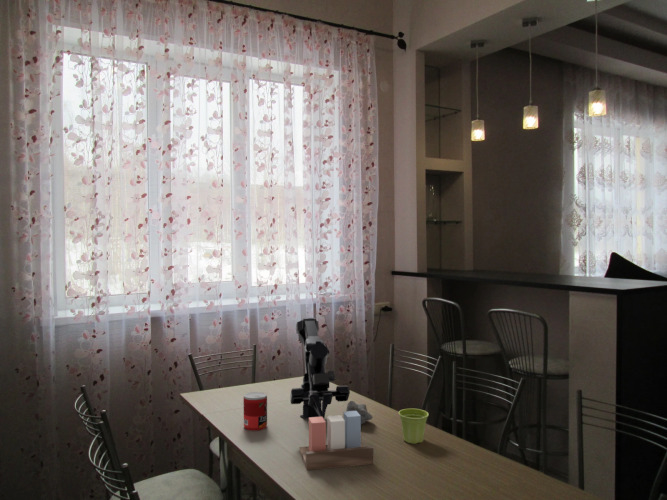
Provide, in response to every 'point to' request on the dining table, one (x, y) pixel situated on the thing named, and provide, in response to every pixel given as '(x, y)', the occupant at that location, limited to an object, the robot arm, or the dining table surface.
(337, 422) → the white tall block
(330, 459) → the wooden block stand
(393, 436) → the dining table surface
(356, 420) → the light blue tall block
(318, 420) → the red rectangular block
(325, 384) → the robot arm
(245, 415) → the canned food
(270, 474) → the dining table surface
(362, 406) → the fossil
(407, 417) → the plant pot
